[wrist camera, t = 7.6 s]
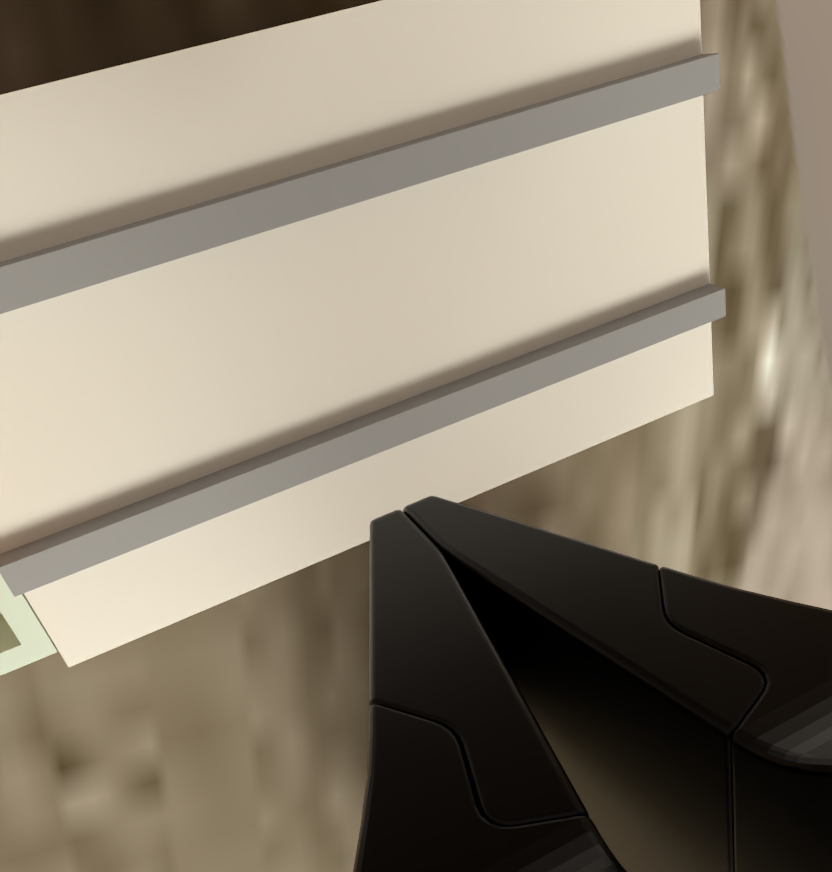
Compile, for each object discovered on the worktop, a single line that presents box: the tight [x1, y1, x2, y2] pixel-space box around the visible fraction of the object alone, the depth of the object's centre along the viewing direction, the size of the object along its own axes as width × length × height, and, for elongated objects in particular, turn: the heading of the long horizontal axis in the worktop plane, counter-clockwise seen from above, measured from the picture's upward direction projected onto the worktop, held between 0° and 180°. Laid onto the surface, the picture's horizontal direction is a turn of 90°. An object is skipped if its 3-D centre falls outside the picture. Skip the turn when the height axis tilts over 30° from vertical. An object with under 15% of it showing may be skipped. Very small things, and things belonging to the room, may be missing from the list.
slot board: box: [0, 0, 726, 667], centre depth 19 cm, size 12×19×4 cm, turn 103°
